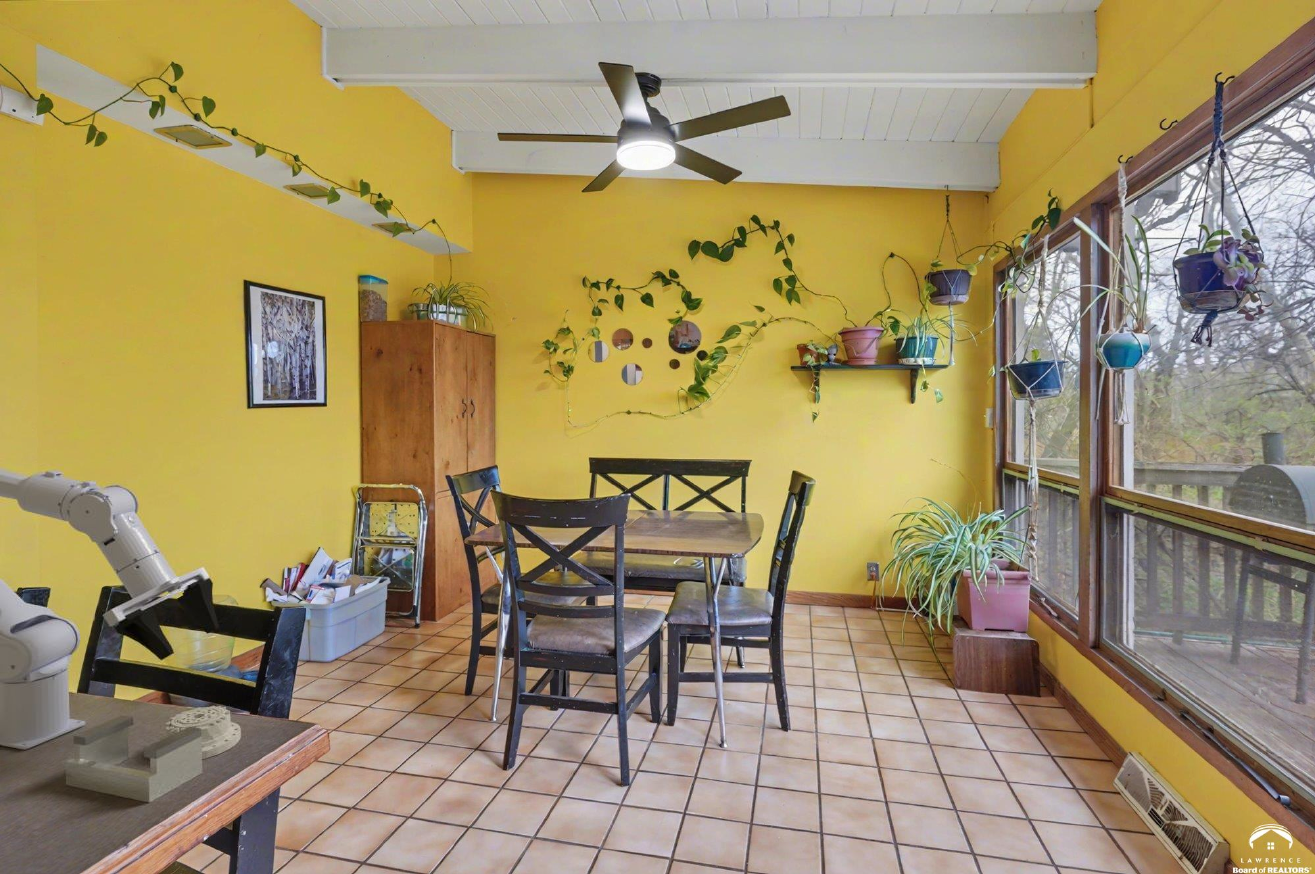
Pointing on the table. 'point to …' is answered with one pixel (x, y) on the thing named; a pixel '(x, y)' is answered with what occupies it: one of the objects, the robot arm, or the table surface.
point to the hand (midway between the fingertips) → (191, 643)
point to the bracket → (109, 747)
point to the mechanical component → (208, 728)
